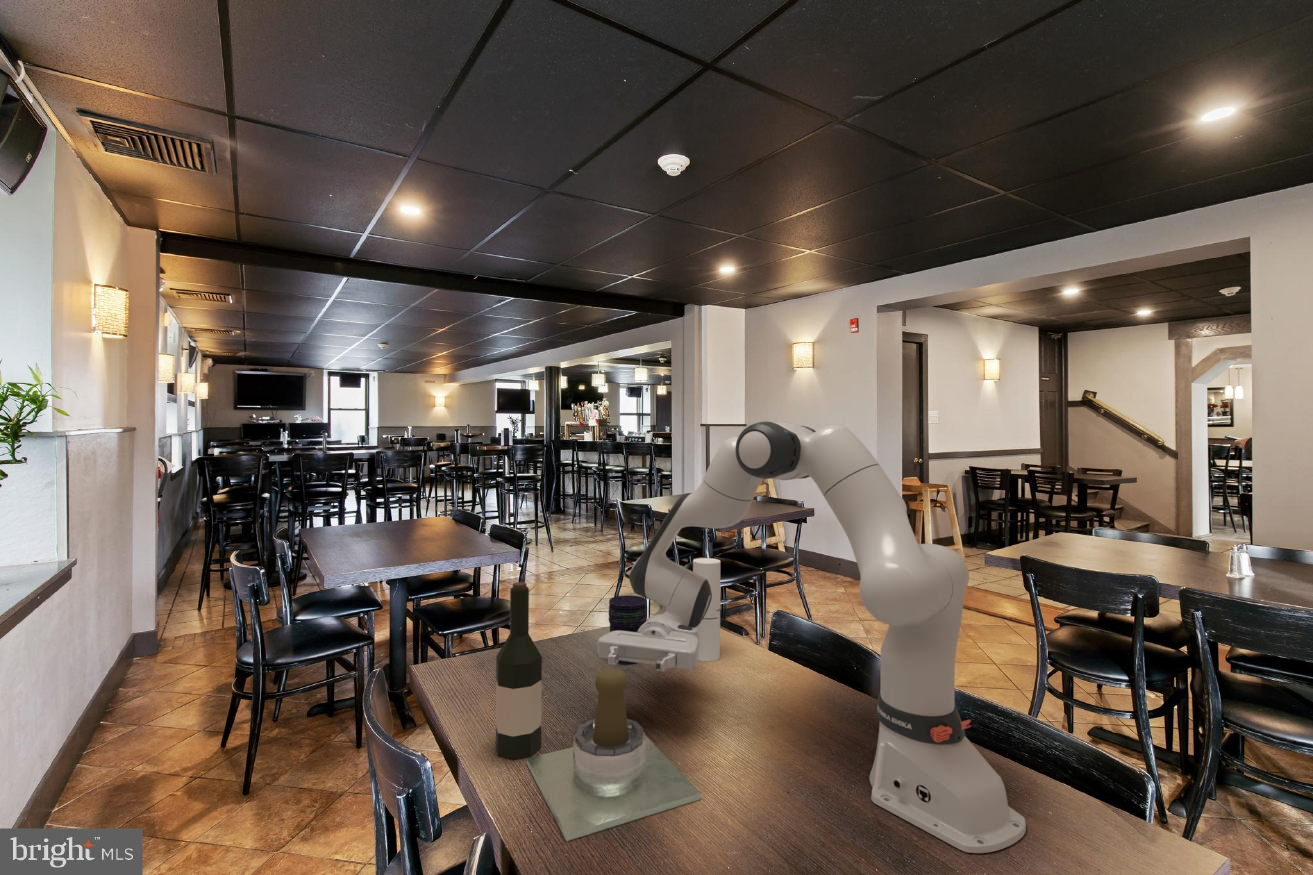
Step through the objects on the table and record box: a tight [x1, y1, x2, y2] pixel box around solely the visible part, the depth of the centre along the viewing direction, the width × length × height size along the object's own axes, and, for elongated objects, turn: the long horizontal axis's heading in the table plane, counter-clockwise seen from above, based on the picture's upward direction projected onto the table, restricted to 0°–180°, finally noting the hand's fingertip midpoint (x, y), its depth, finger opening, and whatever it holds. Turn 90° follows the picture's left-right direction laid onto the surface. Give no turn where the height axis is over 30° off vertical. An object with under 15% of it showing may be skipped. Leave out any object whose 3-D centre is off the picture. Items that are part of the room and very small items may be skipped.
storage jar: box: [608, 594, 648, 666], centre depth 152 cm, size 10×10×15 cm
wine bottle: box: [495, 581, 543, 761], centre depth 107 cm, size 8×8×30 cm
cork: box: [593, 668, 629, 747], centre depth 97 cm, size 6×6×11 cm
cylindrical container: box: [692, 557, 721, 662], centre depth 154 cm, size 7×7×25 cm
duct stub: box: [526, 718, 702, 842], centre depth 97 cm, size 22×22×8 cm
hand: (635, 663), depth 109 cm, fingers open, 8 cm apart
